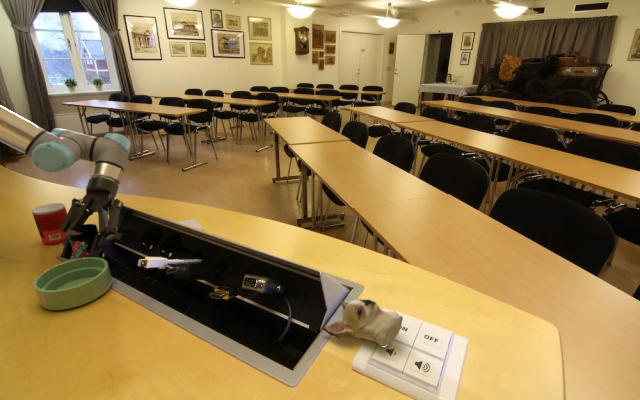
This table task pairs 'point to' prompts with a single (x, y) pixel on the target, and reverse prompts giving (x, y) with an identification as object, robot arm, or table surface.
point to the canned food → (50, 222)
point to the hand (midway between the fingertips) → (79, 258)
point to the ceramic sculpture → (366, 322)
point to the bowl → (73, 283)
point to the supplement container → (83, 240)
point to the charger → (192, 224)
